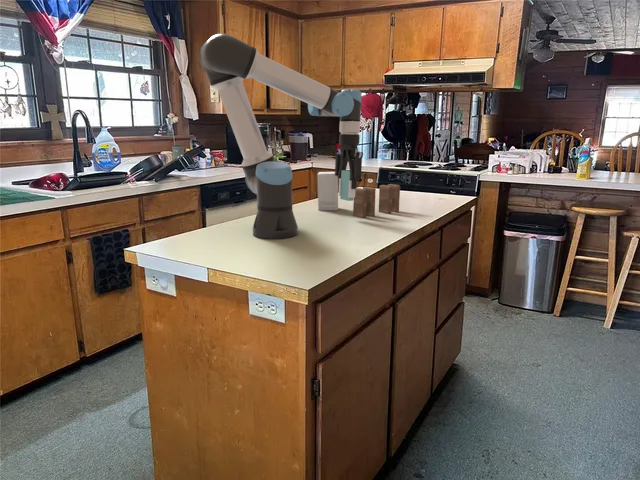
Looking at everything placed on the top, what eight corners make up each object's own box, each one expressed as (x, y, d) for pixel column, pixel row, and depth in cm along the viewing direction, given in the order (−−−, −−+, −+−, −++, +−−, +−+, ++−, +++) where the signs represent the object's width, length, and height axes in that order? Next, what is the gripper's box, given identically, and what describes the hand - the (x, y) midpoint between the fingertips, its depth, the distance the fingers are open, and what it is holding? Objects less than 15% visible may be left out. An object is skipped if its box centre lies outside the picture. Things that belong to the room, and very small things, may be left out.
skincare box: (338, 208, 204) (338, 171, 200) (337, 211, 198) (337, 173, 194) (318, 207, 205) (318, 171, 201) (317, 210, 199) (317, 173, 195)
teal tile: (348, 200, 179) (350, 171, 176) (340, 198, 183) (341, 170, 180) (353, 200, 180) (354, 171, 177) (344, 198, 184) (345, 169, 181)
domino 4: (395, 212, 195) (396, 185, 193) (386, 210, 199) (387, 184, 196) (398, 211, 197) (400, 185, 194) (390, 209, 201) (391, 183, 198)
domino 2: (370, 216, 187) (371, 188, 184) (362, 214, 191) (362, 187, 188) (374, 216, 189) (375, 188, 186) (366, 214, 192) (366, 186, 190)
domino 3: (387, 213, 193) (388, 186, 190) (378, 211, 196) (379, 185, 194) (391, 213, 194) (392, 186, 191) (382, 211, 198) (383, 184, 195)
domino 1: (361, 218, 185) (362, 190, 182) (353, 216, 188) (353, 188, 186) (365, 217, 186) (366, 189, 183) (357, 215, 190) (358, 187, 187)
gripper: (373, 134, 171) (370, 199, 176) (341, 132, 184) (339, 192, 190) (358, 134, 166) (355, 200, 172) (326, 132, 180) (324, 193, 186)
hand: (346, 196), depth 181 cm, fingers closed on teal tile, 5 cm apart
